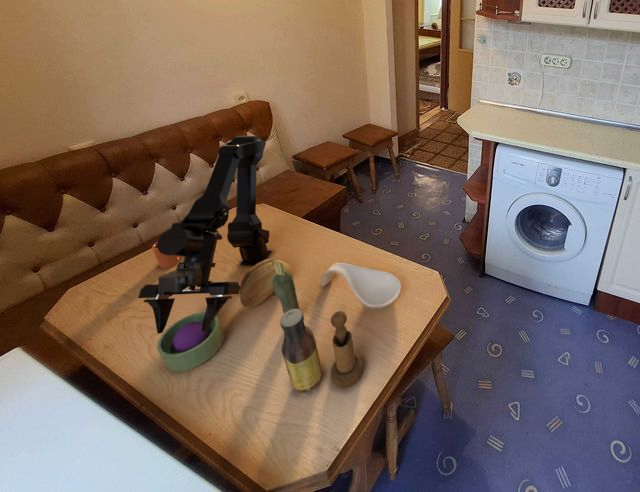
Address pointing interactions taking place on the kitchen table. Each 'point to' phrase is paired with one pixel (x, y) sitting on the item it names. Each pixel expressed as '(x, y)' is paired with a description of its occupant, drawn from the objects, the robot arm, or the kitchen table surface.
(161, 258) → the stand
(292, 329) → the sauce bottle
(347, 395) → the kitchen table surface
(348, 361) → the mortar and pestle
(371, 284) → the spoon rest
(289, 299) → the vegetable
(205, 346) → the bowl
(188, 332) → the plum
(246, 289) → the bread roll
